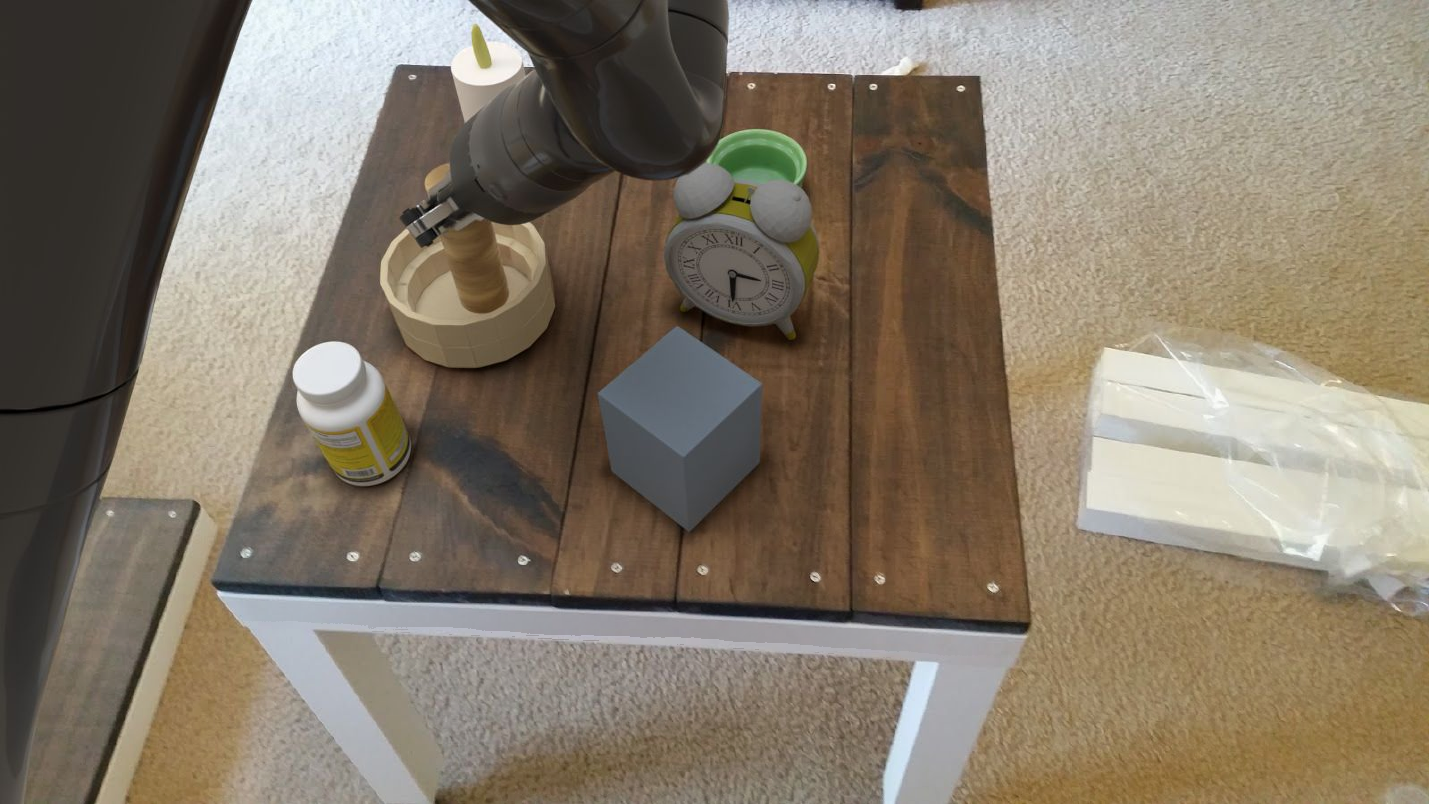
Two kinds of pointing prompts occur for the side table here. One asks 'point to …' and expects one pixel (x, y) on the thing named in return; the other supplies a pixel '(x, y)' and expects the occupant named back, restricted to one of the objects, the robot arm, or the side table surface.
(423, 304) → the bowl
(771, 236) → the alarm clock
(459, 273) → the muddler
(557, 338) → the side table surface
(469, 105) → the candle
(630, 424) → the upright slate-blue block
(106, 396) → the robot arm
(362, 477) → the pill bottle
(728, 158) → the ramekin
